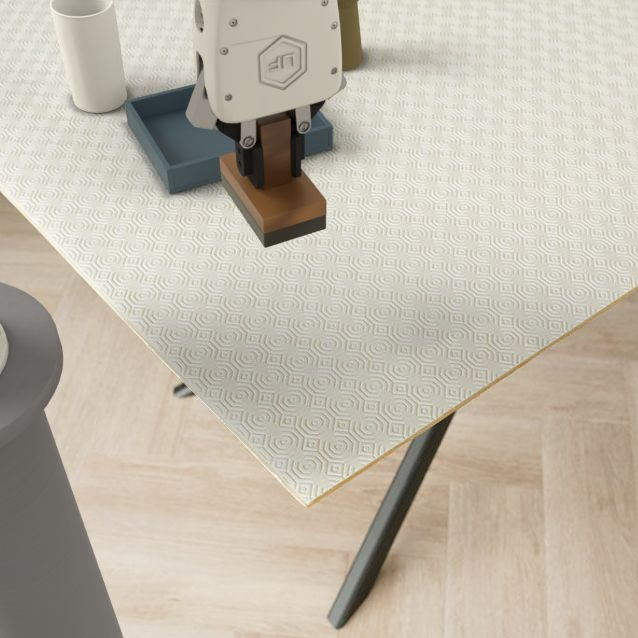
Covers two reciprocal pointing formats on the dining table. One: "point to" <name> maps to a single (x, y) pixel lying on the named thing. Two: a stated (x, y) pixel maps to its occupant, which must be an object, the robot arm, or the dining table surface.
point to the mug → (91, 53)
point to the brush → (275, 188)
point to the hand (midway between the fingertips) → (271, 171)
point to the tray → (194, 139)
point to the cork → (350, 34)
